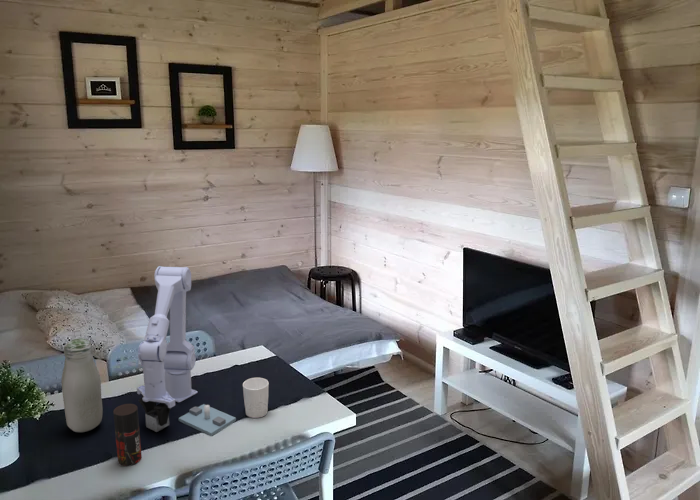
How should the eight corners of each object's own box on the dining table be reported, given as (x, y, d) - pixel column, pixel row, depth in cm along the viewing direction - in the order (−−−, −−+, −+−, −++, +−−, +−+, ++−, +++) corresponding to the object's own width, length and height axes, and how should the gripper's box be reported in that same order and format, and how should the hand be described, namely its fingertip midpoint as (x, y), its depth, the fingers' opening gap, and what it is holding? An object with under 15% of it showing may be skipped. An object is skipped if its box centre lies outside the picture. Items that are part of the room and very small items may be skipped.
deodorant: (122, 452, 151) (117, 403, 147) (144, 452, 152) (140, 403, 148) (114, 466, 145) (110, 415, 142) (138, 465, 146) (133, 415, 142)
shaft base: (178, 421, 167) (177, 406, 166) (203, 406, 175) (203, 392, 174) (211, 436, 160) (210, 420, 158) (236, 420, 168) (235, 405, 167)
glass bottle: (75, 442, 155) (65, 351, 148) (61, 428, 162) (51, 339, 155) (110, 428, 162) (102, 340, 155) (95, 415, 169) (86, 330, 162)
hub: (146, 427, 162) (145, 413, 161) (159, 419, 166) (158, 406, 165) (156, 432, 160) (155, 418, 159) (169, 424, 164) (168, 411, 163)
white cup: (264, 420, 168) (264, 390, 166) (240, 417, 169) (239, 388, 167) (272, 407, 176) (271, 378, 173) (248, 404, 177) (247, 376, 175)
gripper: (126, 378, 160) (130, 419, 163) (159, 392, 152) (162, 436, 156) (147, 369, 165) (150, 409, 169) (180, 382, 158) (182, 424, 161)
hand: (157, 421), depth 163 cm, fingers closed on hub, 5 cm apart
